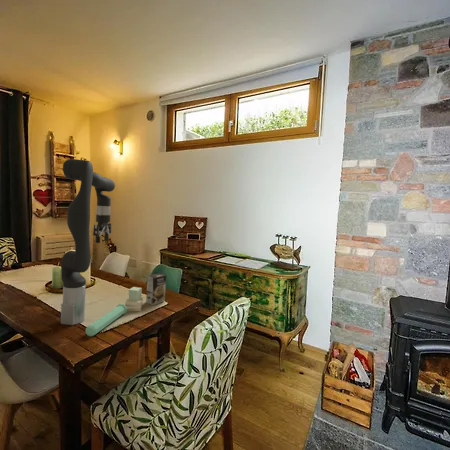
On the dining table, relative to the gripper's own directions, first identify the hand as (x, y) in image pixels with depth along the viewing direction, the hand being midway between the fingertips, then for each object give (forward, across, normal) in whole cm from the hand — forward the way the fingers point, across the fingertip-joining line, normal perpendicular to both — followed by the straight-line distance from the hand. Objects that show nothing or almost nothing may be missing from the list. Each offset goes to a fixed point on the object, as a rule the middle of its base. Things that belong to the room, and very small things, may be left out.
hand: (102, 241), depth 154 cm
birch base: (+33, +8, +25) cm, 42 cm away
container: (+34, +29, +21) cm, 49 cm away
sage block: (+28, +8, +25) cm, 39 cm away
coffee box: (+33, -3, +33) cm, 47 cm away
